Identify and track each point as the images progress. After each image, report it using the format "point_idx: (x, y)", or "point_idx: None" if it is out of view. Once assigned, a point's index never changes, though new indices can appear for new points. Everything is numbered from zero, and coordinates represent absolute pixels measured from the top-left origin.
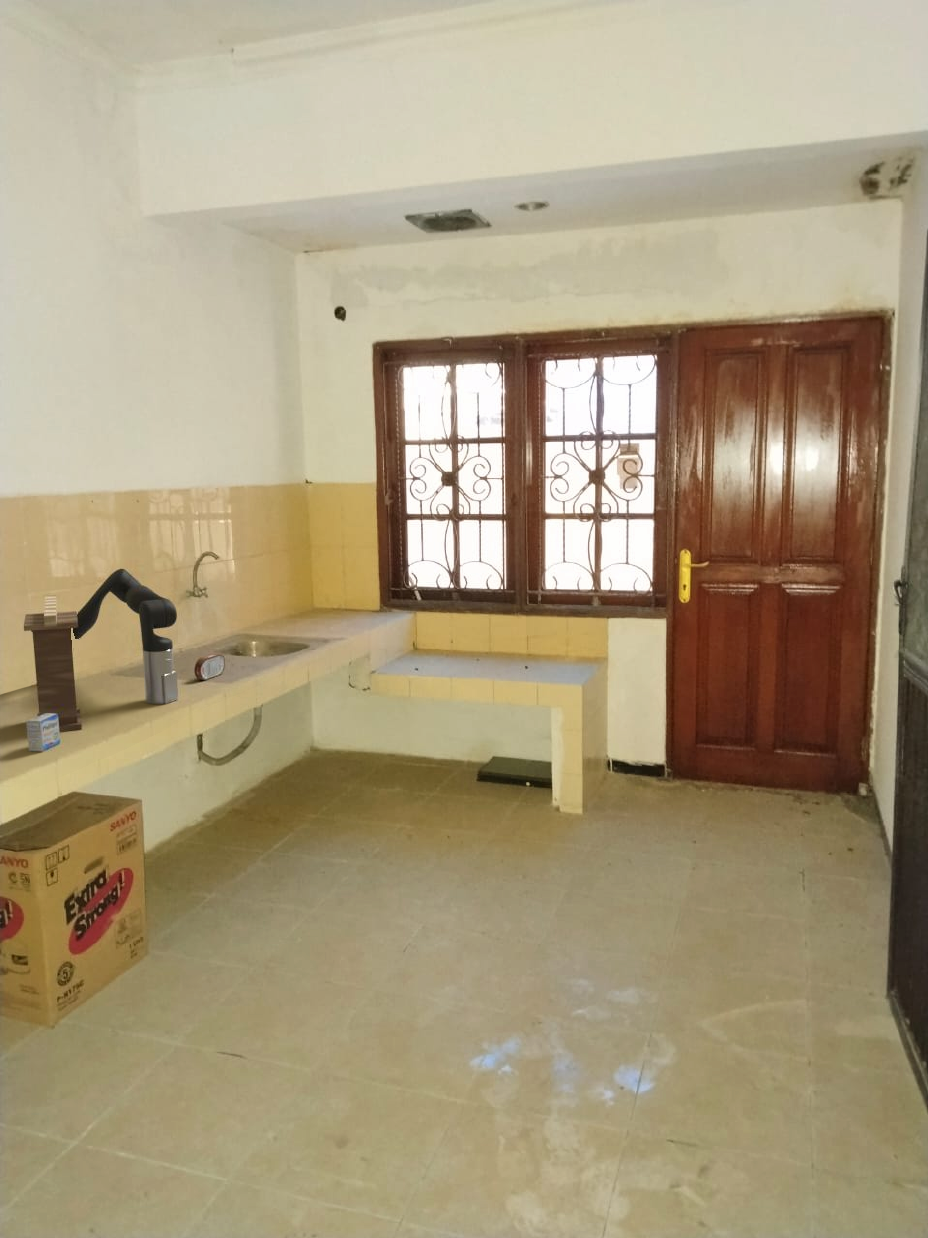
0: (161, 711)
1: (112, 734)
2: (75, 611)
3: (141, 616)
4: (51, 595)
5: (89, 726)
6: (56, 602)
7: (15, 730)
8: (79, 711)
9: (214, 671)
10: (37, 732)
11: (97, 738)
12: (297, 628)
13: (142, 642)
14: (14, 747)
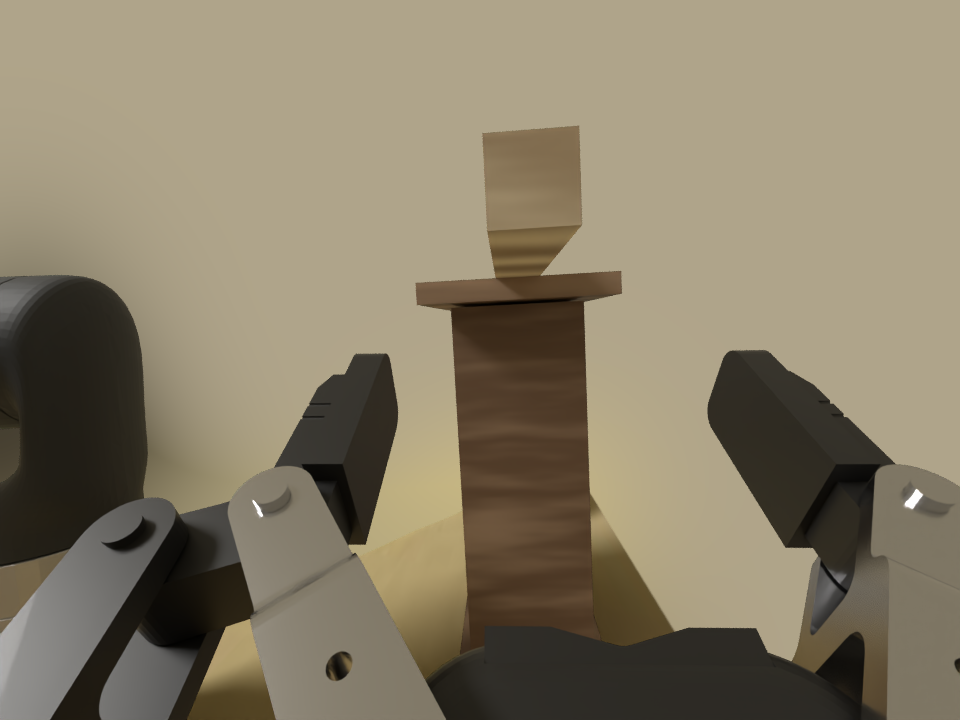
0: (228, 634)
1: (421, 533)
2: (420, 283)
3: (124, 348)
4: (523, 130)
5: (453, 579)
6: (486, 210)
7: (642, 600)
8: (463, 648)
9: None
10: None
11: (452, 525)
12: None
13: (117, 489)
14: (601, 522)
